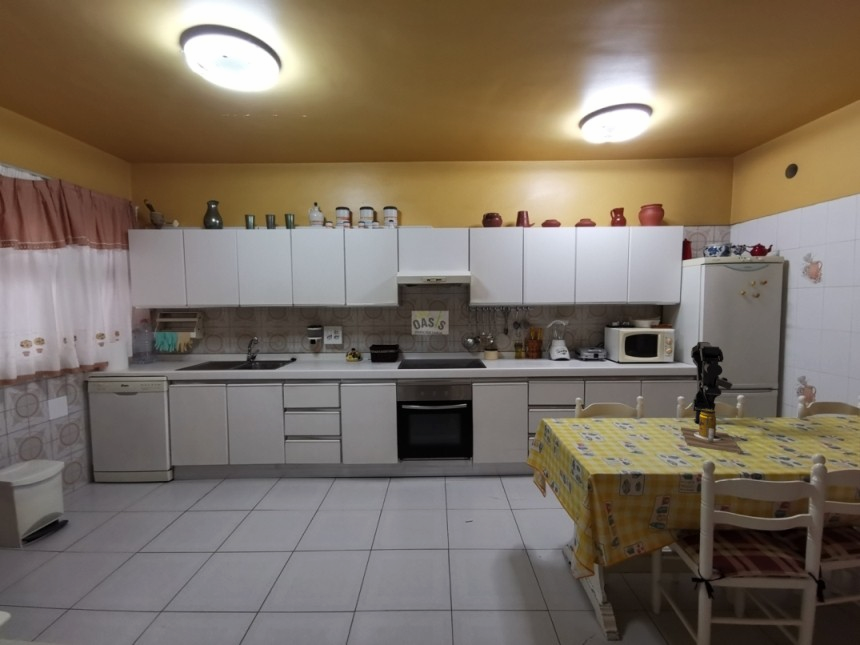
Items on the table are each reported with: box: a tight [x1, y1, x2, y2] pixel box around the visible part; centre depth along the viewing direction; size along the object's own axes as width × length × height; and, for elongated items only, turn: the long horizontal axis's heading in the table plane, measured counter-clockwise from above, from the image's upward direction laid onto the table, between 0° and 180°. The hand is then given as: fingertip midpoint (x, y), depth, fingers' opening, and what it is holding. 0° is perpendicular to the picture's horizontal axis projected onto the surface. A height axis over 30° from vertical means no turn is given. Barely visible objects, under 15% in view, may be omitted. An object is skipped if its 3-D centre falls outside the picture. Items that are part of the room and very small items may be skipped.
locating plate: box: [680, 427, 741, 454], centre depth 167 cm, size 22×18×7 cm
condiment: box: [696, 409, 725, 439], centre depth 168 cm, size 7×8×12 cm
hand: (708, 404), depth 177 cm, fingers open, 9 cm apart
